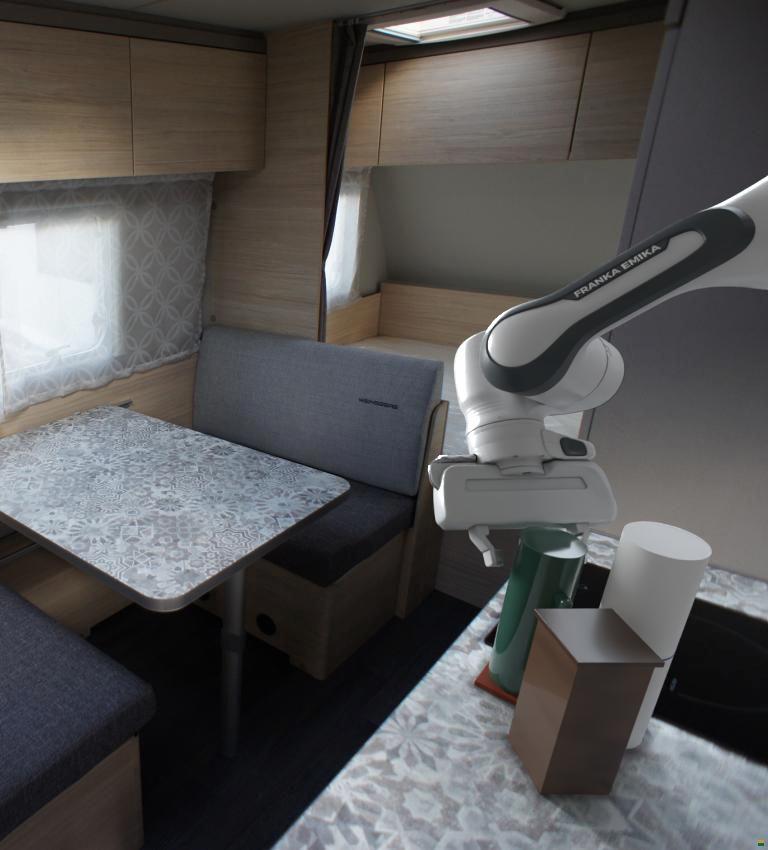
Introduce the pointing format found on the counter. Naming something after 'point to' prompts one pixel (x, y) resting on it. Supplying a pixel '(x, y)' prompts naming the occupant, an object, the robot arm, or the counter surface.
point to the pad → (493, 686)
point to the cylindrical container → (655, 594)
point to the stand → (580, 699)
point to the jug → (533, 597)
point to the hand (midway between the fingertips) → (536, 565)
